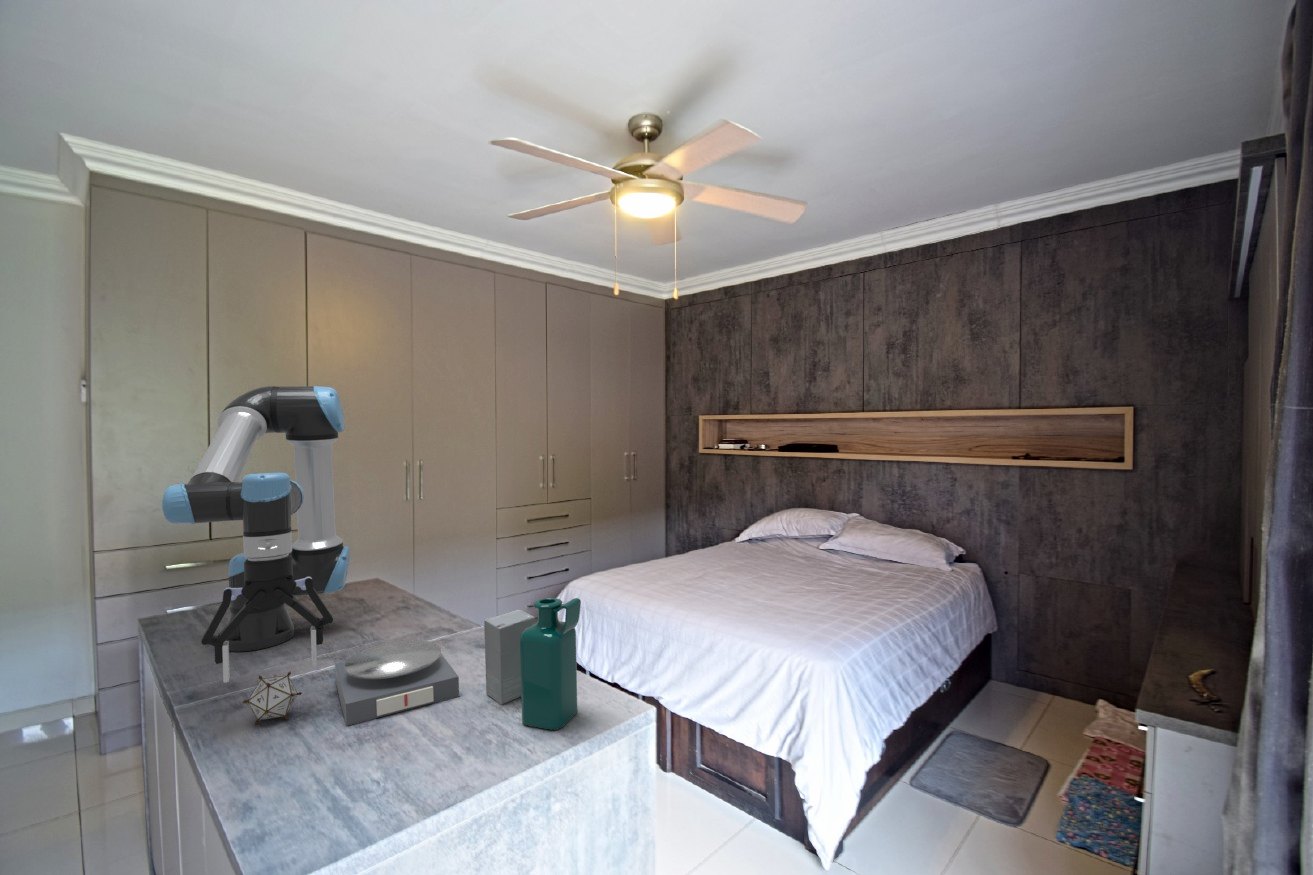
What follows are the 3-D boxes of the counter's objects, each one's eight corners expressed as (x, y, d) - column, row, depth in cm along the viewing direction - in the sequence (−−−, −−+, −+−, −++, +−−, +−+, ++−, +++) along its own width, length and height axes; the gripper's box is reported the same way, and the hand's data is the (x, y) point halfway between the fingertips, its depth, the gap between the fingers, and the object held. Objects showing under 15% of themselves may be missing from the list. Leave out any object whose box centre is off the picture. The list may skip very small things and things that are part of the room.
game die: (276, 742, 108) (264, 715, 103) (239, 722, 110) (226, 694, 104) (315, 700, 116) (306, 672, 110) (280, 681, 117) (269, 653, 111)
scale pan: (341, 661, 124) (340, 652, 124) (430, 642, 134) (430, 634, 134) (350, 693, 109) (350, 683, 109) (450, 669, 119) (450, 660, 119)
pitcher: (517, 725, 106) (514, 603, 105) (542, 703, 114) (540, 591, 113) (565, 734, 103) (562, 609, 102) (587, 711, 110) (585, 595, 110)
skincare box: (520, 681, 124) (518, 607, 123) (539, 692, 119) (537, 614, 118) (483, 695, 118) (481, 617, 117) (501, 707, 113) (499, 625, 112)
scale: (335, 681, 125) (334, 663, 125) (433, 659, 136) (433, 642, 136) (347, 727, 106) (346, 706, 106) (460, 697, 117) (459, 678, 117)
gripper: (179, 570, 99) (183, 695, 99) (346, 551, 113) (349, 661, 113) (185, 562, 105) (188, 680, 106) (342, 545, 119) (345, 649, 119)
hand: (271, 670), depth 109 cm, fingers open, 13 cm apart
